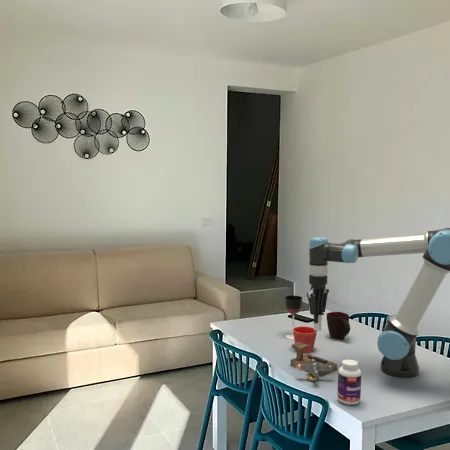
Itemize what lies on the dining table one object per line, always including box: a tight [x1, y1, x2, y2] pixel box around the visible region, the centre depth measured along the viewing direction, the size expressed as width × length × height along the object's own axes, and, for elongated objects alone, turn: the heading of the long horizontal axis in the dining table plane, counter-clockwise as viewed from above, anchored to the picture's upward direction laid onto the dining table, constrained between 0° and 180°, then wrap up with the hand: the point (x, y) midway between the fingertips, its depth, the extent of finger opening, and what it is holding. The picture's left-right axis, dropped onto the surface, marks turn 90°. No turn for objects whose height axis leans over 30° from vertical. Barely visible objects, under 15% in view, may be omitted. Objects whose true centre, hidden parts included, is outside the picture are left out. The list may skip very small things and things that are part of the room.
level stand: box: [290, 342, 338, 377], centre depth 214 cm, size 16×11×9 cm
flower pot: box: [293, 325, 318, 354], centre depth 235 cm, size 11×11×10 cm
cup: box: [326, 311, 351, 341], centre depth 250 cm, size 10×14×12 cm
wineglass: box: [284, 295, 303, 340], centre depth 253 cm, size 8×9×20 cm
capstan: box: [295, 359, 333, 382], centre depth 201 cm, size 14×14×6 cm
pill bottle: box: [336, 359, 362, 406], centre depth 182 cm, size 8×8×14 cm
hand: (317, 330), depth 213 cm, fingers closed
